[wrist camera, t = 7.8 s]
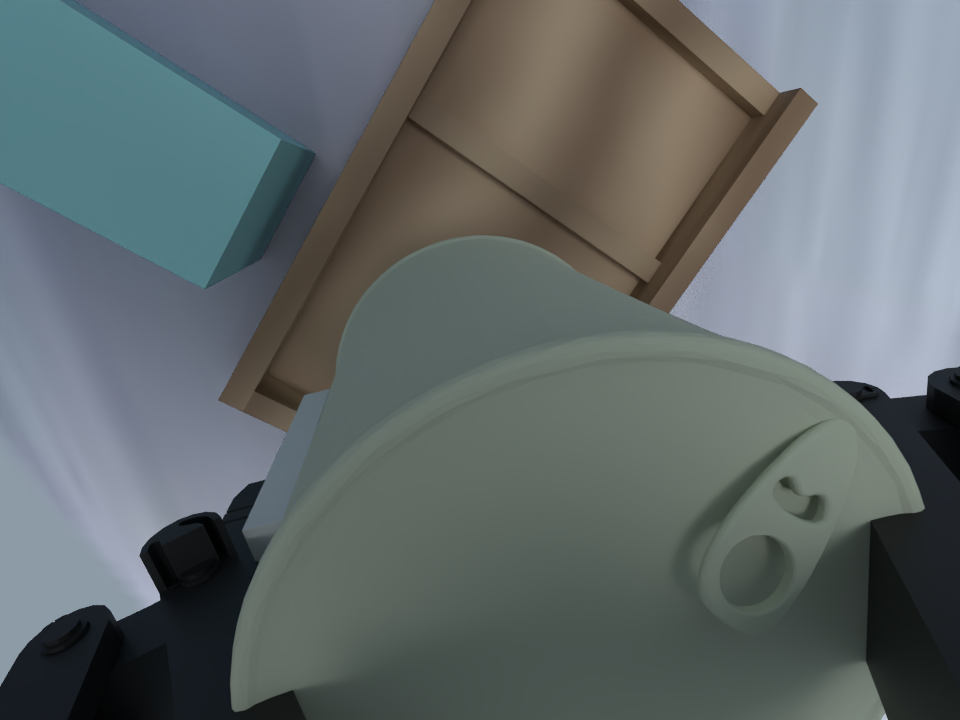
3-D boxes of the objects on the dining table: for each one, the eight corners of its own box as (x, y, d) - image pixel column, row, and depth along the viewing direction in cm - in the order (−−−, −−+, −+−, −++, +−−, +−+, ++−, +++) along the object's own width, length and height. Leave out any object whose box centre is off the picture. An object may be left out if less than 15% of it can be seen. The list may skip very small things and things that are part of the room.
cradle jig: (240, 373, 24) (218, 400, 21) (506, -115, 20) (526, -169, 17) (498, 497, 28) (510, 535, 25) (764, 114, 24) (817, 103, 21)
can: (667, 344, 18) (1107, 600, 7) (503, 540, 20) (643, 1015, 8) (450, 169, 15) (585, 120, 4) (279, 413, 17) (40, 861, 6)
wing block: (5, 117, 20) (-191, 83, 13) (56, -12, 19) (-127, -117, 12) (260, 259, 23) (204, 289, 16) (316, 153, 22) (281, 139, 15)
